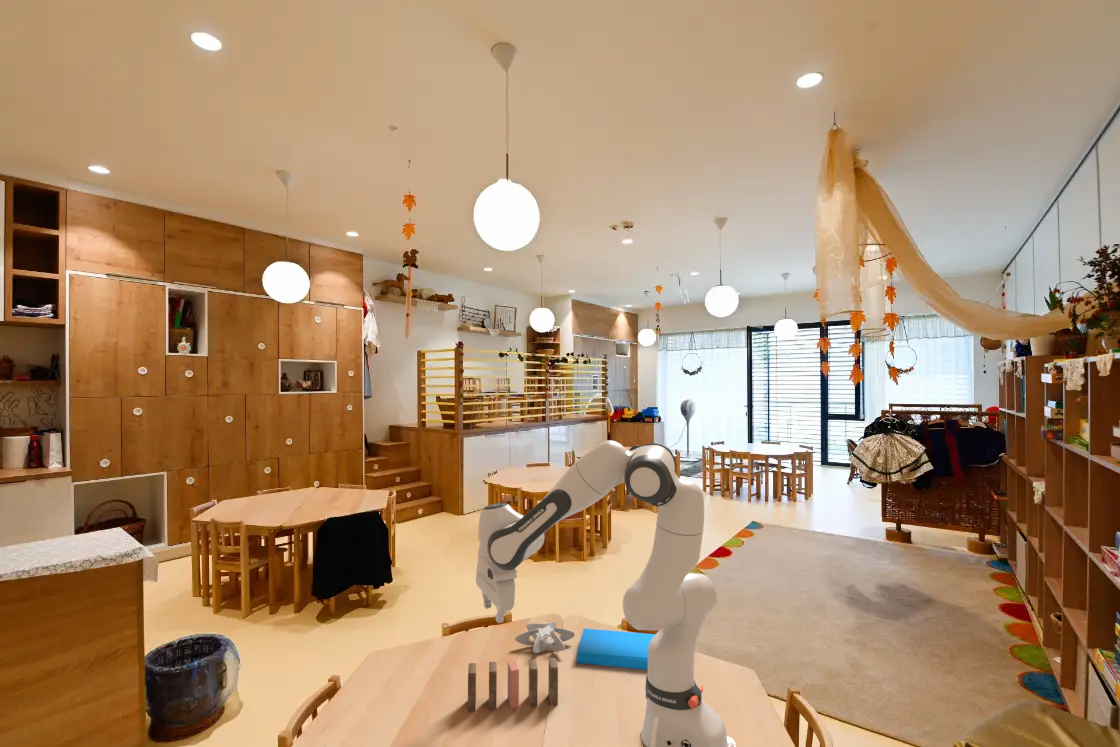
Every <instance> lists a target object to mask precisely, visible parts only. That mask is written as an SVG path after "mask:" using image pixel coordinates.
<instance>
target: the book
mask: <svg viewBox="0 0 1120 747" xmlns="http://www.w3.org/2000/svg"><path fill="white" fill-rule="evenodd" d="M656 634H657V633H655V634H654V633H653V634H652V633H643V632H631V631H620V630H608V629H598V628H596V629H595V628H585V627H583V629H582V633H581V636H580V640H579V644H578V647H577V650H576V664H583V665H592V666H593V665H594V666H603V667H613V668H622V669H623V668H624V669H634V670H636V669H637V670H646V671H648V646H649V643H650V641H651V640H652V638H653V637H654V636H655V635H656Z"/></svg>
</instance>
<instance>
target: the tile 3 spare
mask: <svg viewBox="0 0 1120 747" xmlns="http://www.w3.org/2000/svg"><path fill="white" fill-rule="evenodd" d="M519 681H520V669H519V666H518V665H517V662H516V660H508V661H507V700H508V703H509V705H510V708H511V709H518V708H520V707H519V705H520V701H519V700H520V697H519V696H520V694H519V693H520V682H519Z"/></svg>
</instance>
